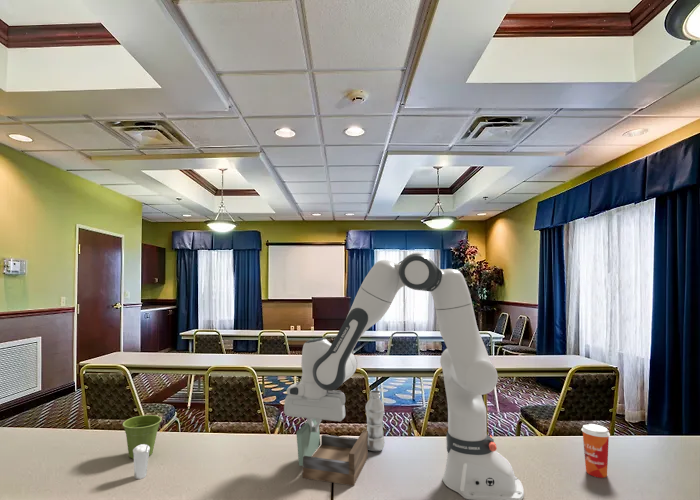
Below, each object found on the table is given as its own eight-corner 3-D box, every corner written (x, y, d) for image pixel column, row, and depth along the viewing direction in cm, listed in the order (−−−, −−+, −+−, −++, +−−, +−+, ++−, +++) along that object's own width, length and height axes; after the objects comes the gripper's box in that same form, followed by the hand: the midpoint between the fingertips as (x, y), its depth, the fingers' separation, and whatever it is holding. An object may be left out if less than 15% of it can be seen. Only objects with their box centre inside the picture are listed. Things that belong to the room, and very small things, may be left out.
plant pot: (126, 466, 128) (127, 430, 129) (117, 453, 137) (118, 420, 138) (165, 455, 136) (166, 421, 137) (154, 444, 145) (155, 412, 146)
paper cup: (576, 470, 129) (575, 425, 129) (593, 465, 132) (592, 421, 132) (600, 482, 121) (599, 434, 122) (617, 477, 124) (616, 430, 125)
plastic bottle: (383, 454, 138) (383, 395, 139) (363, 452, 140) (364, 393, 141) (385, 446, 145) (385, 389, 146) (366, 445, 146) (367, 388, 147)
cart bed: (367, 458, 136) (367, 430, 136) (354, 485, 118) (354, 454, 119) (322, 452, 140) (322, 425, 140) (302, 477, 122) (303, 447, 123)
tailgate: (320, 444, 139) (318, 414, 140) (303, 465, 124) (300, 432, 125) (316, 444, 139) (313, 414, 140) (298, 465, 124) (296, 432, 125)
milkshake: (139, 482, 119) (140, 447, 119) (128, 477, 122) (130, 443, 122) (153, 476, 123) (154, 442, 123) (143, 471, 126) (144, 438, 126)
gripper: (348, 388, 133) (347, 431, 132) (290, 383, 138) (289, 425, 137) (342, 393, 126) (342, 439, 126) (282, 388, 132) (281, 432, 131)
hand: (314, 431), depth 132 cm, fingers closed
